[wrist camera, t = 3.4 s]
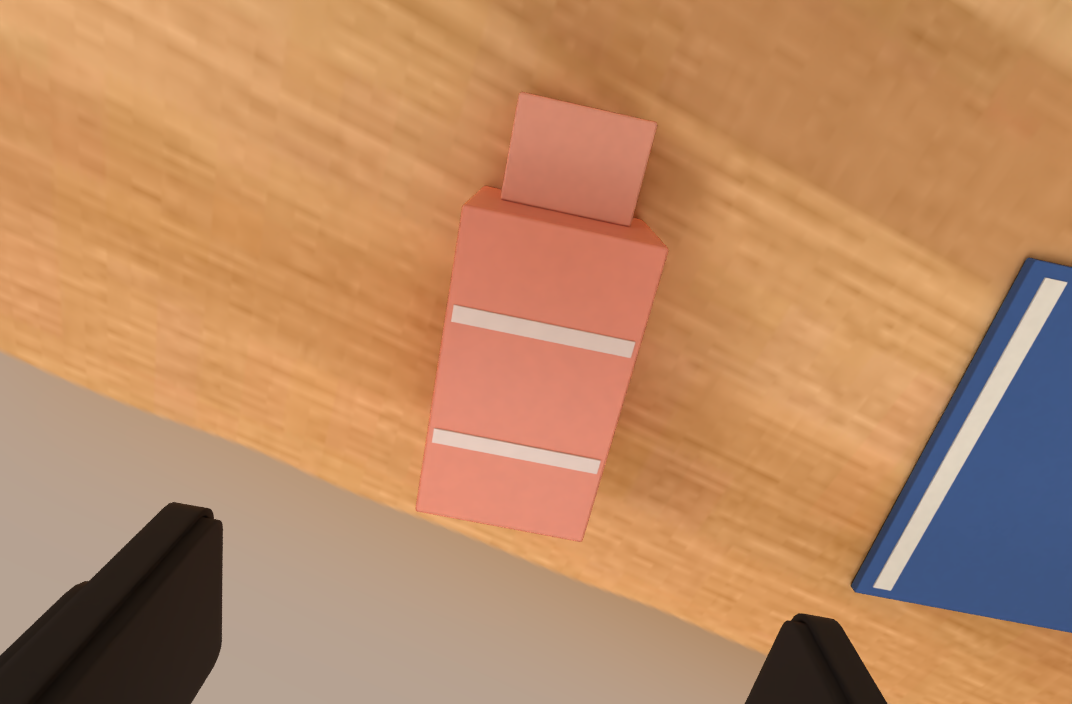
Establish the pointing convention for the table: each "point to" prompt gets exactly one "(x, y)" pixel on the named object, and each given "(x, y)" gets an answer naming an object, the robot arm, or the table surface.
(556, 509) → the red rectangular block
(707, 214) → the table surface
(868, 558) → the cloth
